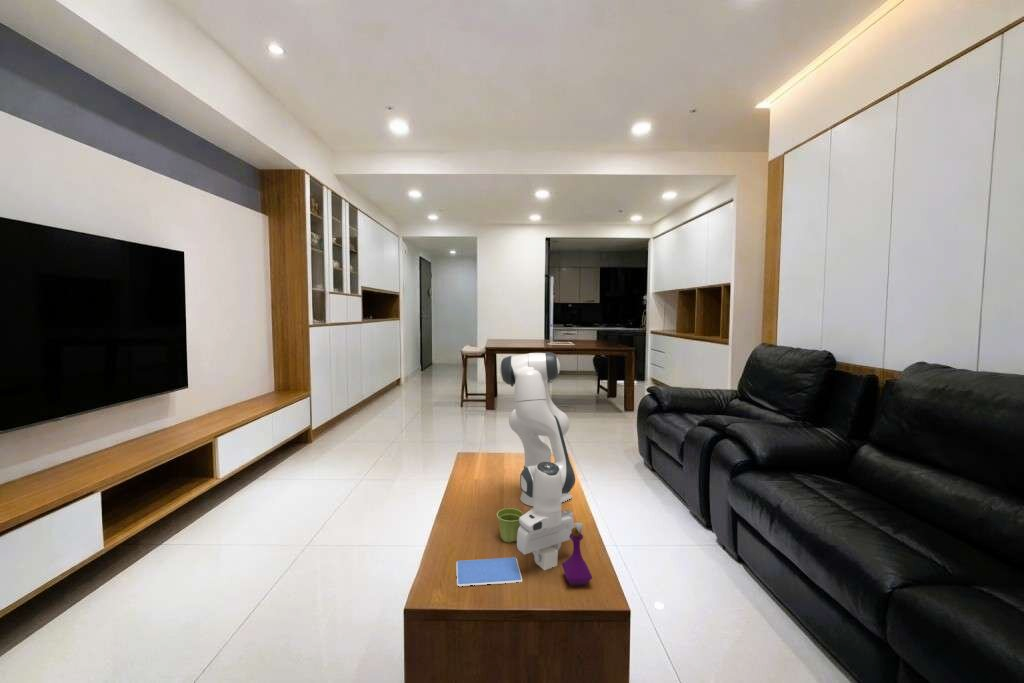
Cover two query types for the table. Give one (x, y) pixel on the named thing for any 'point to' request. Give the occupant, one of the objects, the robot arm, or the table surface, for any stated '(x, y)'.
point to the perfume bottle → (576, 560)
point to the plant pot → (509, 523)
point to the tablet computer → (487, 571)
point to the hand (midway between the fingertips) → (546, 558)
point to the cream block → (548, 557)
